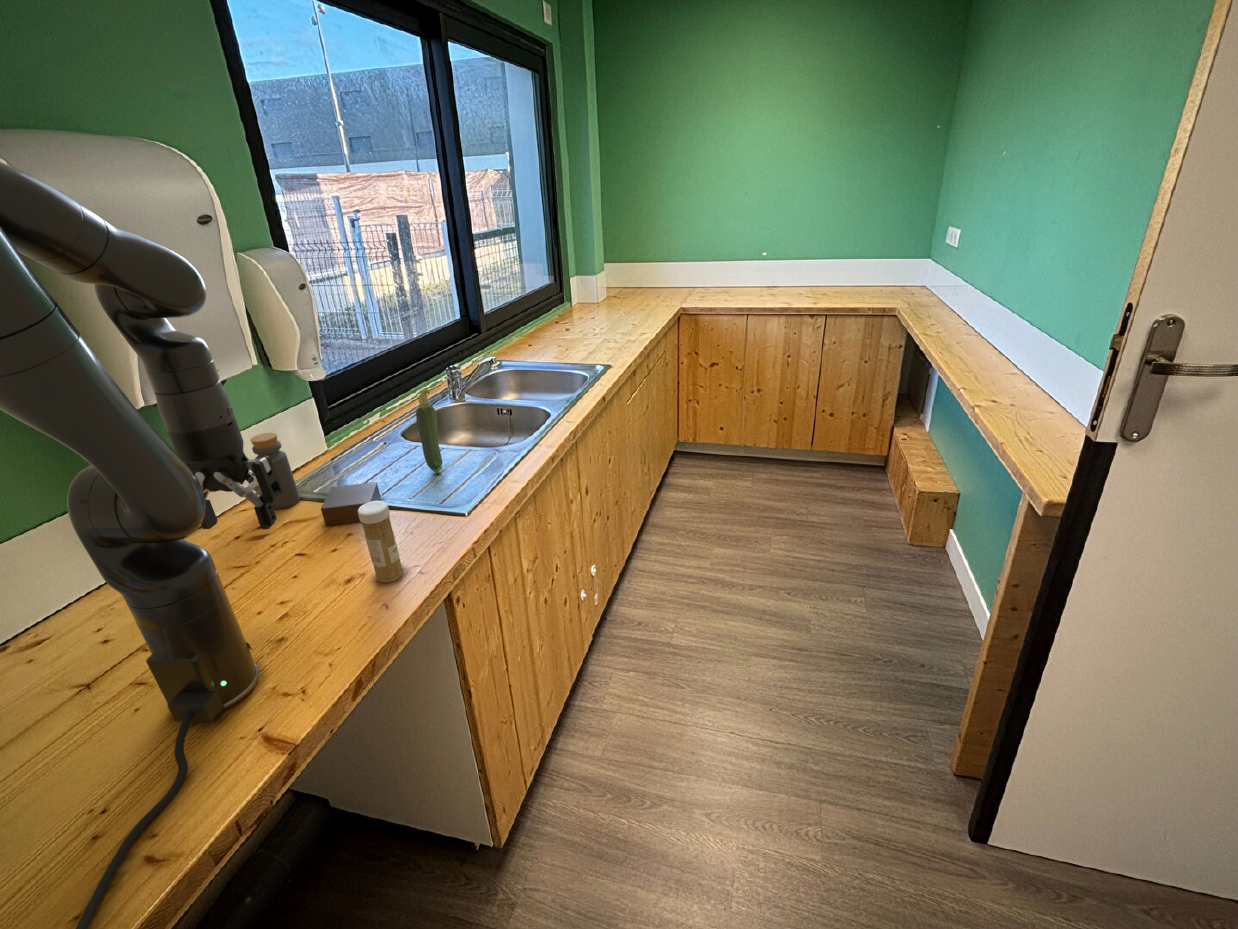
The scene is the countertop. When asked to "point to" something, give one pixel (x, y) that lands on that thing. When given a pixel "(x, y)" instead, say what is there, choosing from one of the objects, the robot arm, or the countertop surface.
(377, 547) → the sprinkles bottle
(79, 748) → the countertop surface
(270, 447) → the bottle
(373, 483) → the block
